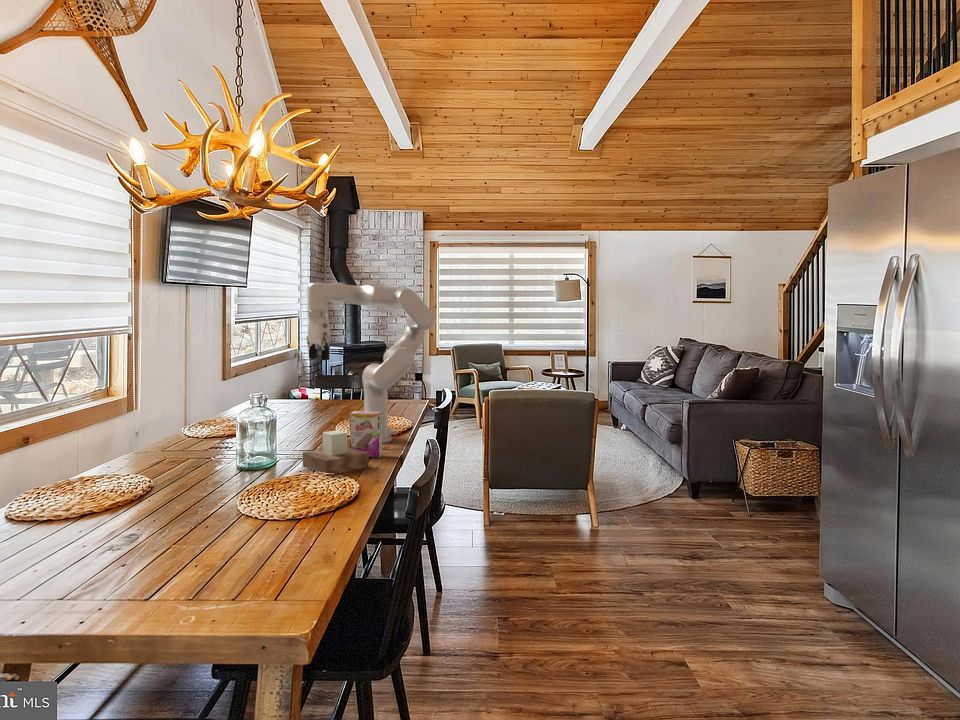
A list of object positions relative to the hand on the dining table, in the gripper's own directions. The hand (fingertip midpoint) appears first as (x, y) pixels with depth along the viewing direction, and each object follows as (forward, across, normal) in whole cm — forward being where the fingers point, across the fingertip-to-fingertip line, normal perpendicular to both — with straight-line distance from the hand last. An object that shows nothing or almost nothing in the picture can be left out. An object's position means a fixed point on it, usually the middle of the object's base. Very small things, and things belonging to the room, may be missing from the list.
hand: (318, 359), depth 244 cm
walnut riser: (+34, -32, +12) cm, 48 cm away
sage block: (+29, -32, +12) cm, 45 cm away
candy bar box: (+34, -26, -4) cm, 43 cm away
